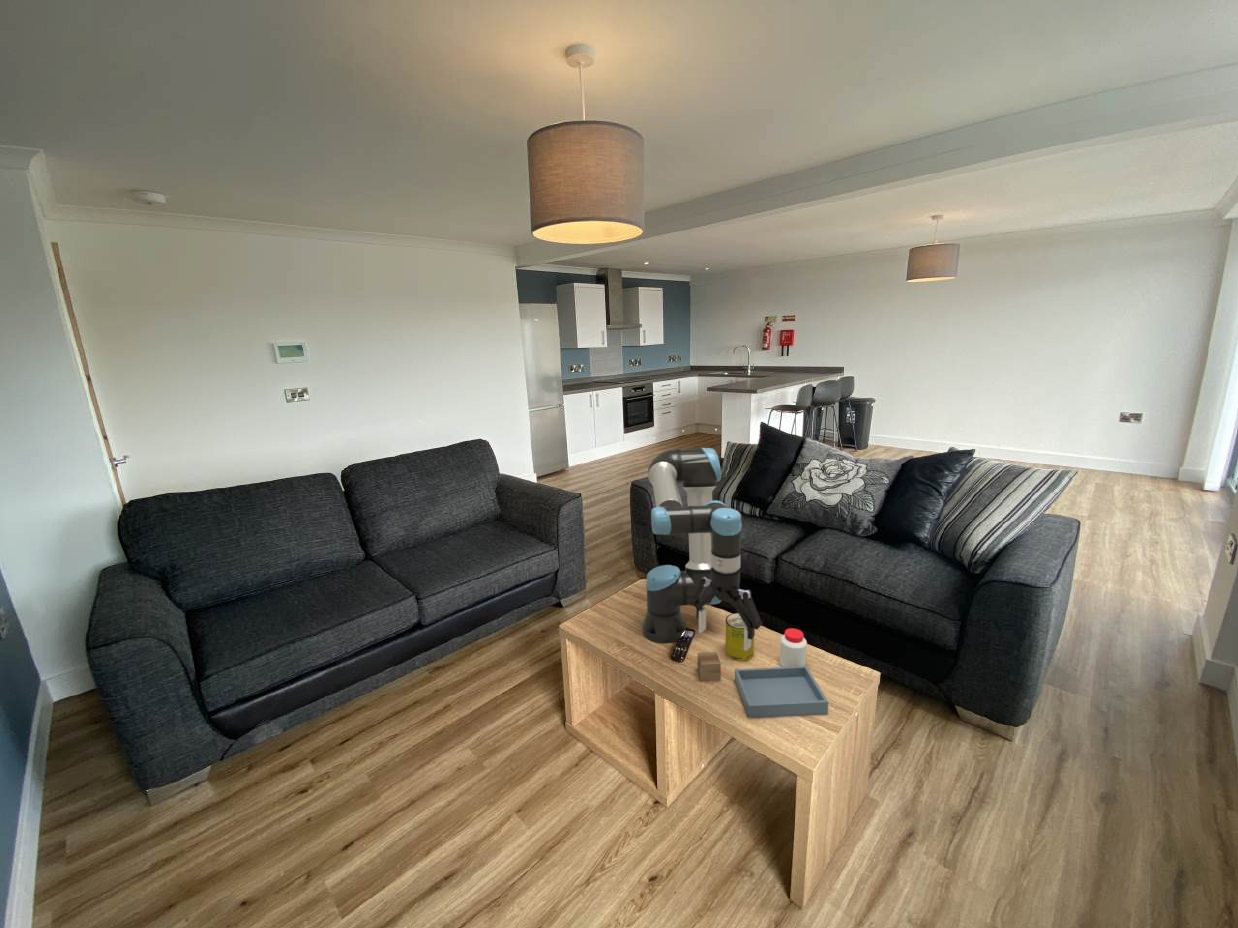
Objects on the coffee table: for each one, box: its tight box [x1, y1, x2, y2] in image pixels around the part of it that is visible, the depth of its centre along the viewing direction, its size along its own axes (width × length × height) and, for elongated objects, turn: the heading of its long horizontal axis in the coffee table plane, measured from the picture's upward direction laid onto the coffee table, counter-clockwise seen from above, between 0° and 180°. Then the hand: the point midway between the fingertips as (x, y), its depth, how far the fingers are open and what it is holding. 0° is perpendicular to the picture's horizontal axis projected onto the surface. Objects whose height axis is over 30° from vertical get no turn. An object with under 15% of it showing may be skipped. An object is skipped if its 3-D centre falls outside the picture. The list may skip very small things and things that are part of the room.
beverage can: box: [724, 612, 755, 663], centre depth 165 cm, size 9×9×12 cm
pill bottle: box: [779, 627, 808, 667], centre depth 158 cm, size 8×8×11 cm
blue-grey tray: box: [734, 665, 829, 719], centre depth 146 cm, size 16×22×4 cm
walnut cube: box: [696, 651, 722, 683], centre depth 156 cm, size 6×6×6 cm
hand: (724, 638), depth 138 cm, fingers open, 13 cm apart
